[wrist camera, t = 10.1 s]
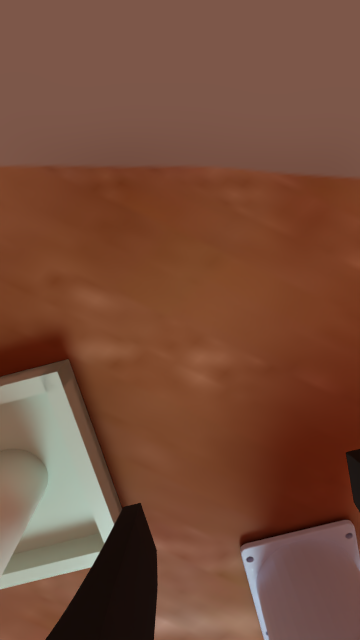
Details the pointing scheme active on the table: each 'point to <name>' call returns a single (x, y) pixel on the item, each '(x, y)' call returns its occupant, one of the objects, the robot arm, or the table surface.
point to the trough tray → (57, 473)
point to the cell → (18, 497)
